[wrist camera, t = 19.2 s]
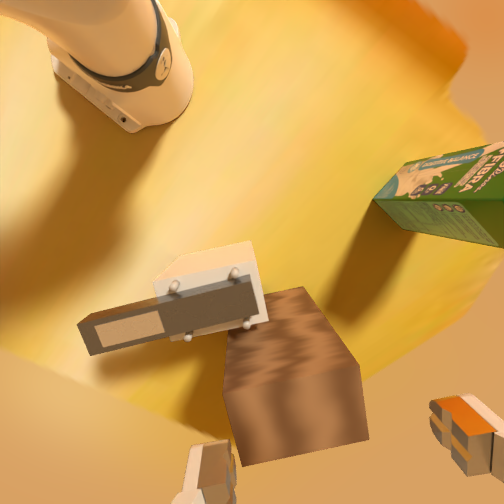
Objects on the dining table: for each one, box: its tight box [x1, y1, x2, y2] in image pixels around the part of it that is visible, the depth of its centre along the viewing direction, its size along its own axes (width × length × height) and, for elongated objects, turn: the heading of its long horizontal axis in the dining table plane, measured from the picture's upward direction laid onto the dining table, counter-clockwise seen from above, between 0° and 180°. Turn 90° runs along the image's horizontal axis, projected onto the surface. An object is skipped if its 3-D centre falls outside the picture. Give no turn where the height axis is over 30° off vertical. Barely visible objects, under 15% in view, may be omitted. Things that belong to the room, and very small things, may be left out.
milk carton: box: [373, 141, 504, 249], centre depth 37 cm, size 9×9×25 cm
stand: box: [223, 287, 369, 467], centre depth 41 cm, size 15×10×25 cm, turn 102°
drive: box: [77, 274, 259, 356], centre depth 33 cm, size 22×4×3 cm, turn 104°
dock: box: [152, 240, 269, 342], centre depth 42 cm, size 14×9×18 cm, turn 102°
